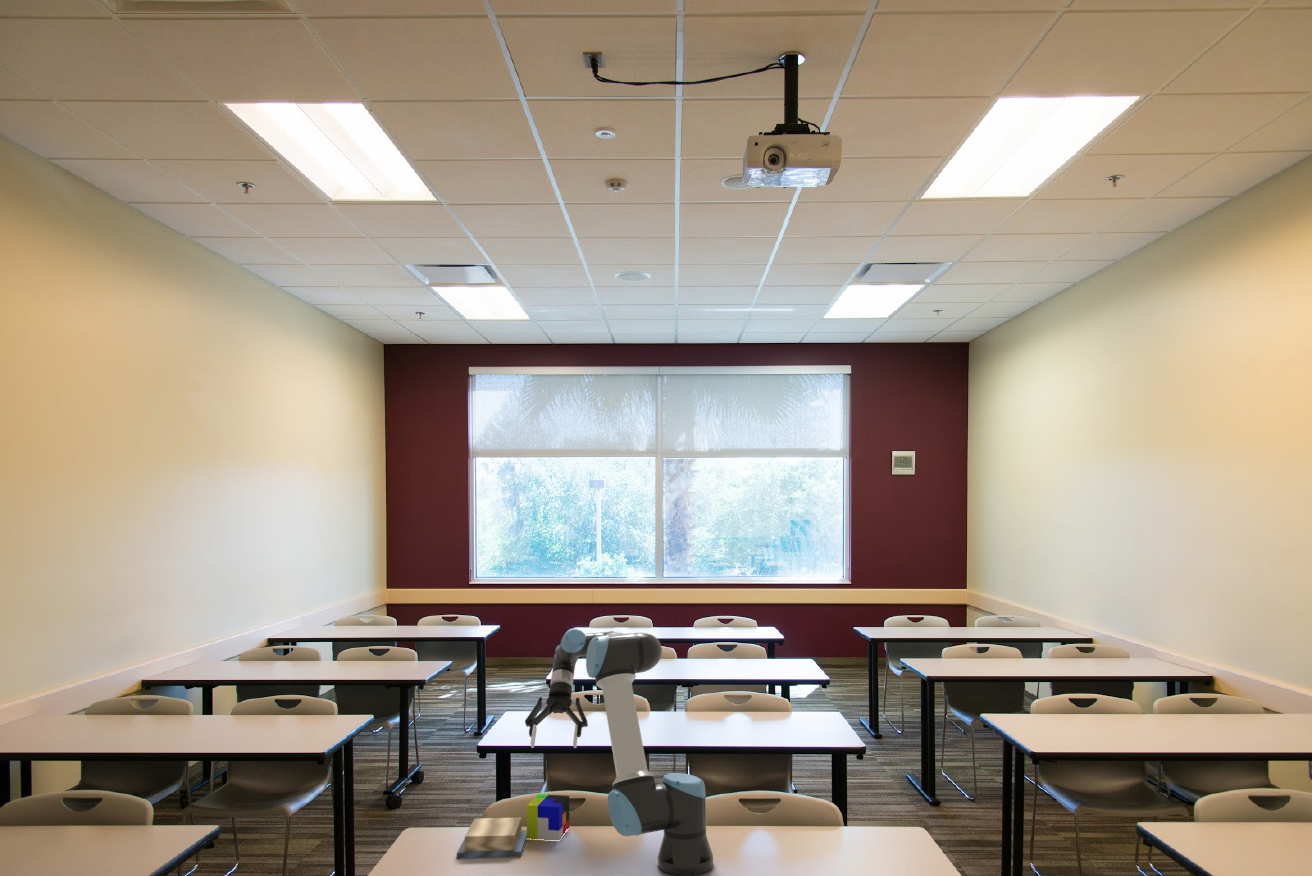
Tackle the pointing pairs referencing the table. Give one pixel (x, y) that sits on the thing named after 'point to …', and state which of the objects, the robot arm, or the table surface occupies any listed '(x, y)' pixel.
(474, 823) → the foundation block
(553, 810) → the puzzle toy
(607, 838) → the table surface
